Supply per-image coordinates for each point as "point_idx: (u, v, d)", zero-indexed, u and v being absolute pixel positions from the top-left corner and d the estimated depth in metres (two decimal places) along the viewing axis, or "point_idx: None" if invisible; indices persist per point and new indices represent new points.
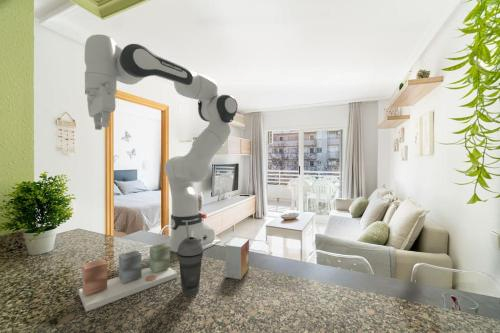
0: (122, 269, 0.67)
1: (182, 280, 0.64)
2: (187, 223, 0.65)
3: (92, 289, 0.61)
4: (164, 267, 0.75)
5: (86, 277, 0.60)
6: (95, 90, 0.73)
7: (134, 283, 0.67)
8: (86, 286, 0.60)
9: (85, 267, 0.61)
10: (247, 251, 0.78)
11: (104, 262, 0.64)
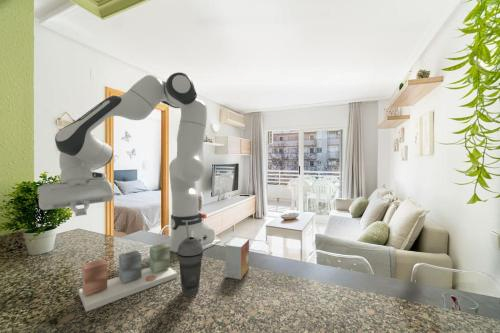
0: (122, 269, 0.67)
1: (182, 280, 0.64)
2: (187, 223, 0.65)
3: (92, 289, 0.61)
4: (164, 267, 0.75)
5: (86, 277, 0.60)
6: None
7: (134, 283, 0.67)
8: (86, 286, 0.60)
9: (85, 267, 0.61)
10: (247, 251, 0.78)
11: (104, 262, 0.64)
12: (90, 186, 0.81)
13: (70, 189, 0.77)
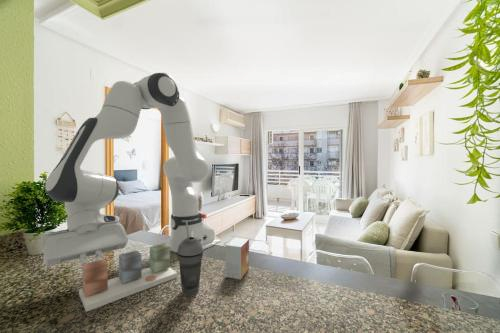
0: (122, 269, 0.67)
1: (182, 280, 0.64)
2: (187, 223, 0.65)
3: (92, 289, 0.61)
4: (164, 267, 0.75)
5: (86, 278, 0.60)
6: None
7: (134, 283, 0.67)
8: (86, 287, 0.60)
9: (85, 267, 0.60)
10: (247, 251, 0.78)
11: (104, 262, 0.64)
12: (102, 232, 0.71)
13: (79, 238, 0.67)
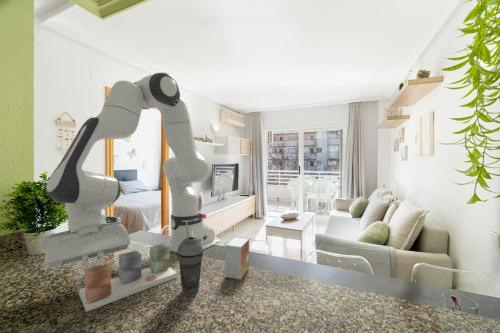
0: (122, 269, 0.67)
1: (182, 280, 0.64)
2: (187, 223, 0.65)
3: (95, 295, 0.58)
4: (164, 267, 0.75)
5: (89, 283, 0.57)
6: None
7: (134, 283, 0.67)
8: (89, 292, 0.57)
9: (88, 272, 0.58)
10: (247, 251, 0.78)
11: (108, 267, 0.61)
12: (103, 234, 0.70)
13: (81, 239, 0.66)
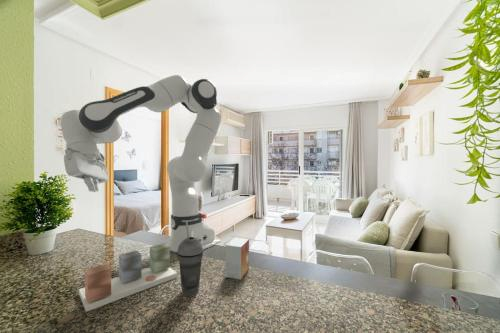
0: (122, 269, 0.67)
1: (182, 280, 0.64)
2: (187, 223, 0.65)
3: (95, 295, 0.58)
4: (164, 267, 0.75)
5: (89, 283, 0.57)
6: None
7: (134, 283, 0.67)
8: (89, 292, 0.57)
9: (88, 272, 0.58)
10: (247, 251, 0.78)
11: (108, 267, 0.61)
12: (96, 165, 0.84)
13: (88, 163, 0.79)
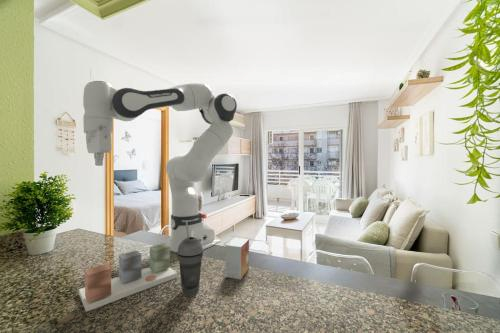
0: (122, 269, 0.67)
1: (182, 280, 0.64)
2: (187, 223, 0.65)
3: (95, 295, 0.58)
4: (164, 267, 0.75)
5: (89, 283, 0.57)
6: (93, 132, 0.80)
7: (134, 283, 0.67)
8: (89, 292, 0.57)
9: (88, 272, 0.58)
10: (247, 251, 0.78)
11: (108, 267, 0.61)
12: None
13: None
